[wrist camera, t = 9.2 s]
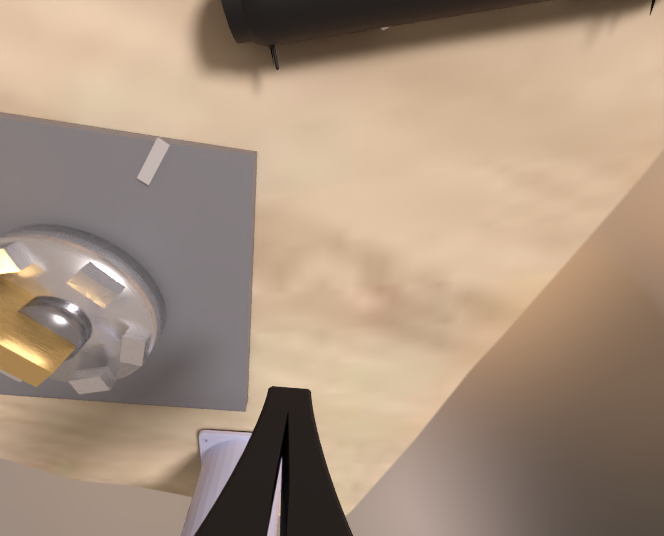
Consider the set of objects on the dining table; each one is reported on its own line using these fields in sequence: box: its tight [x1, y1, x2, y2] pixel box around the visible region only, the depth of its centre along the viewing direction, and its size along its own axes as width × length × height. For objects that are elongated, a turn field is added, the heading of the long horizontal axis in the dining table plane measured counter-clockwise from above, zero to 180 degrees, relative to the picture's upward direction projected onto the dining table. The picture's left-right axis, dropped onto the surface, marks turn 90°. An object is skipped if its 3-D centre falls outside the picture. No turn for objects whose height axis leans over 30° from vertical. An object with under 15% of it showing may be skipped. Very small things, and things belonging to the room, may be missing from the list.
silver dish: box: [0, 224, 166, 394], centre depth 17 cm, size 14×10×5 cm
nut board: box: [0, 112, 257, 412], centre depth 20 cm, size 20×20×1 cm
